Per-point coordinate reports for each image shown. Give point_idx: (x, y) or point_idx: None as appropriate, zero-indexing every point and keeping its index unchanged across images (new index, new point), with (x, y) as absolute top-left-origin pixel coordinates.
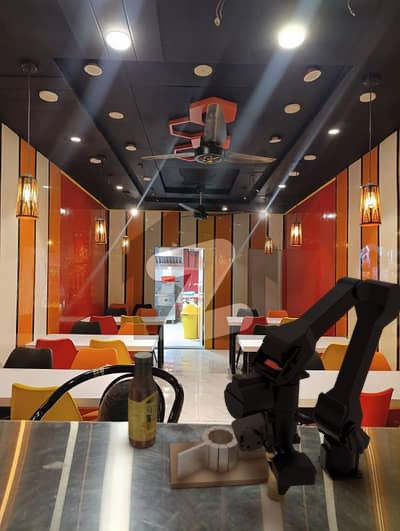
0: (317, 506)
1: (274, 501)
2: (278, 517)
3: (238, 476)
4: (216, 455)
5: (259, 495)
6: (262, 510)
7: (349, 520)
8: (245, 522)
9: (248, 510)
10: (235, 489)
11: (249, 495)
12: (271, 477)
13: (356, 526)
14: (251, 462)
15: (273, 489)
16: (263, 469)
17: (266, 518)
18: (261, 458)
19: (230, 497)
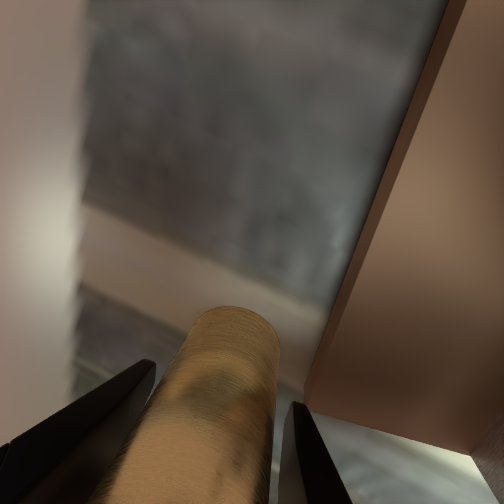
0: None
1: (199, 318)
2: (118, 287)
3: (420, 221)
4: None
5: (256, 275)
6: (163, 242)
7: None
8: (104, 118)
9: (175, 172)
10: (346, 164)
11: (272, 226)
12: (159, 419)
13: None
14: (497, 363)
15: (178, 357)
16: (395, 389)
17: (118, 236)
18: (490, 427)
19: (295, 100)
